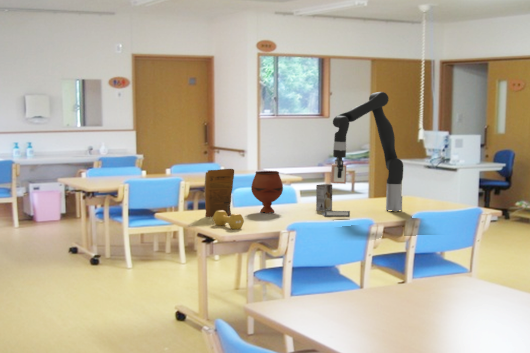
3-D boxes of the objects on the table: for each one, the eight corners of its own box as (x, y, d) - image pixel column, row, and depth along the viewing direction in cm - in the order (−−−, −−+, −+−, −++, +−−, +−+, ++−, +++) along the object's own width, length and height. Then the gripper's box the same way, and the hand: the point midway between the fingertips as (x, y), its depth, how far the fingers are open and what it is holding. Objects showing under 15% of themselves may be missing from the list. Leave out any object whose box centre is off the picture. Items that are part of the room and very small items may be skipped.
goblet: (245, 212, 451) (245, 171, 448) (263, 209, 466) (264, 169, 463) (270, 215, 439) (270, 173, 437) (288, 211, 455) (289, 171, 452)
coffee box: (323, 208, 470) (324, 183, 468) (332, 209, 466) (332, 184, 465) (315, 210, 463) (316, 184, 461) (324, 211, 459) (324, 185, 457)
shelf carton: (330, 182, 448) (331, 164, 447) (343, 182, 449) (344, 164, 448) (332, 183, 443) (333, 165, 442) (345, 183, 444) (346, 165, 443)
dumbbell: (211, 225, 402) (211, 210, 401) (225, 224, 408) (225, 209, 407) (231, 230, 387) (231, 215, 386) (245, 228, 393) (245, 213, 392)
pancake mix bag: (236, 216, 436) (236, 168, 433) (205, 218, 428) (205, 169, 425) (231, 214, 442) (232, 168, 439) (201, 216, 434) (201, 168, 431)
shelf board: (345, 213, 451) (345, 208, 451) (349, 216, 439) (349, 211, 439) (321, 213, 450) (321, 208, 449) (324, 216, 437) (324, 211, 437)
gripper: (331, 148, 451) (330, 176, 452) (335, 149, 436) (334, 178, 438) (343, 148, 451) (342, 176, 453) (348, 150, 437) (347, 178, 439)
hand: (338, 177), depth 445 cm, fingers closed on shelf carton, 5 cm apart
